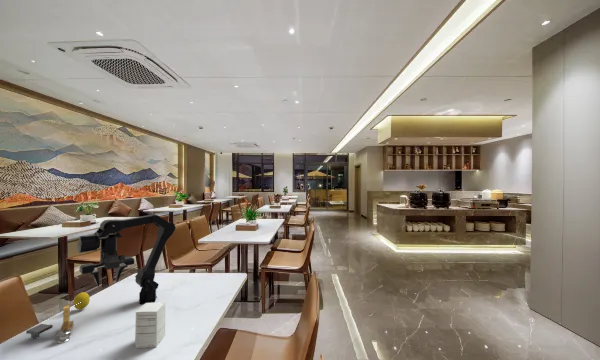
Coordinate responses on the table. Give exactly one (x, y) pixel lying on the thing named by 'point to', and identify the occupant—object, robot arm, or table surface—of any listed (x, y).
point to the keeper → (38, 330)
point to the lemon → (81, 300)
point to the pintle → (63, 336)
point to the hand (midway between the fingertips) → (107, 284)
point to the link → (67, 319)
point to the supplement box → (150, 325)
